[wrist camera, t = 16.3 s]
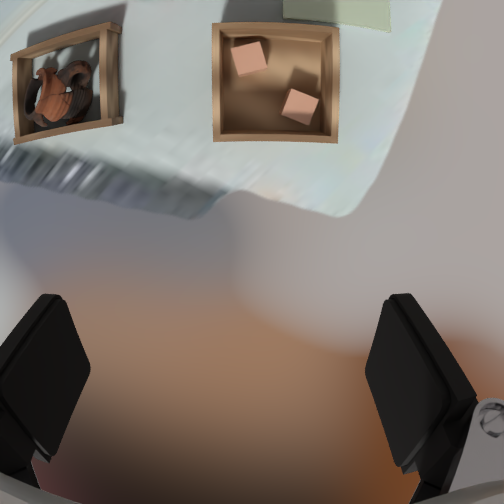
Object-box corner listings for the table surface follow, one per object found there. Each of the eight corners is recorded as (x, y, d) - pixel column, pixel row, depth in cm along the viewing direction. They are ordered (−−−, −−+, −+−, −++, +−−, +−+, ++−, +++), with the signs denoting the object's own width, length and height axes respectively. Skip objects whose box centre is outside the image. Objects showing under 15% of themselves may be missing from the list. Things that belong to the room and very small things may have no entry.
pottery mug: (70, 141, 40) (23, 139, 33) (60, 97, 41) (18, 92, 33) (115, 87, 35) (64, 75, 27) (102, 44, 35) (57, 31, 28)
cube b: (287, 89, 37) (291, 88, 34) (313, 99, 38) (318, 99, 34) (278, 114, 38) (281, 114, 35) (303, 123, 39) (308, 125, 36)
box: (217, 35, 34) (211, 23, 28) (325, 38, 34) (339, 27, 28) (218, 135, 40) (213, 141, 34) (323, 137, 41) (337, 143, 34)
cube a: (231, 53, 35) (230, 48, 32) (258, 46, 34) (259, 41, 31) (239, 77, 36) (238, 74, 33) (265, 70, 36) (267, 67, 33)
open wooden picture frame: (25, 55, 33) (10, 54, 29) (121, 27, 33) (110, 21, 29) (28, 140, 39) (14, 145, 35) (123, 123, 39) (111, 125, 35)
